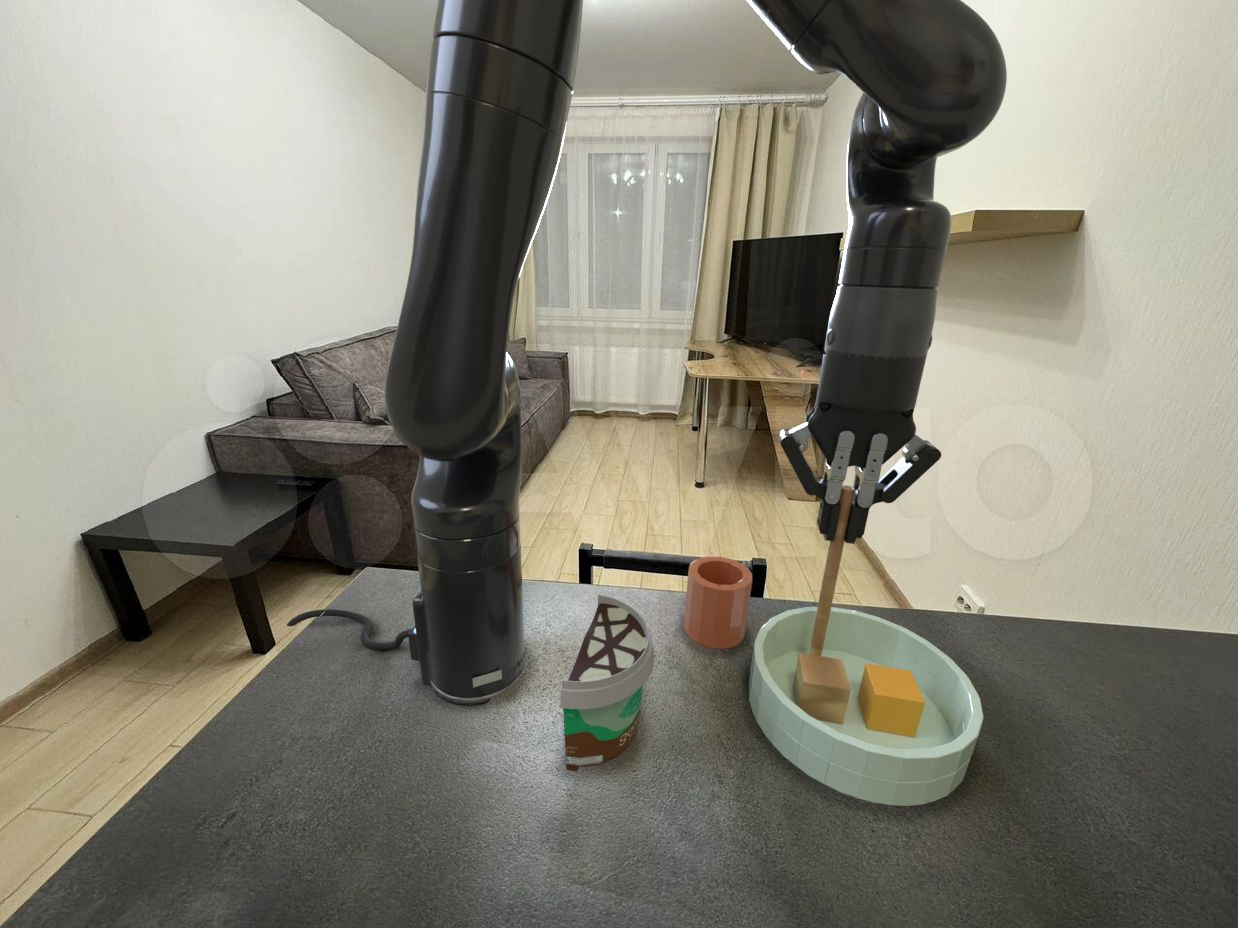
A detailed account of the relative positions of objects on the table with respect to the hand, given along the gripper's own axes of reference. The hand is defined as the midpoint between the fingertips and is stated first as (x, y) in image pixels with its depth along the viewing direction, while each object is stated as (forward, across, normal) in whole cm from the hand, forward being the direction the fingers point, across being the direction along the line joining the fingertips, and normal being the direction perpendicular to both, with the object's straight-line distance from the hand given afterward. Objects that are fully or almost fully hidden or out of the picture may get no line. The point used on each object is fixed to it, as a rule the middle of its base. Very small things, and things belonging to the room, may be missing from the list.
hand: (837, 537), depth 48 cm
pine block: (+16, 0, +4) cm, 16 cm away
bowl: (+16, -3, +4) cm, 17 cm away
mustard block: (+16, -6, +4) cm, 17 cm away
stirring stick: (+13, 0, 0) cm, 13 cm away
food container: (+16, +18, +11) cm, 27 cm away
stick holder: (+16, +10, -5) cm, 20 cm away
